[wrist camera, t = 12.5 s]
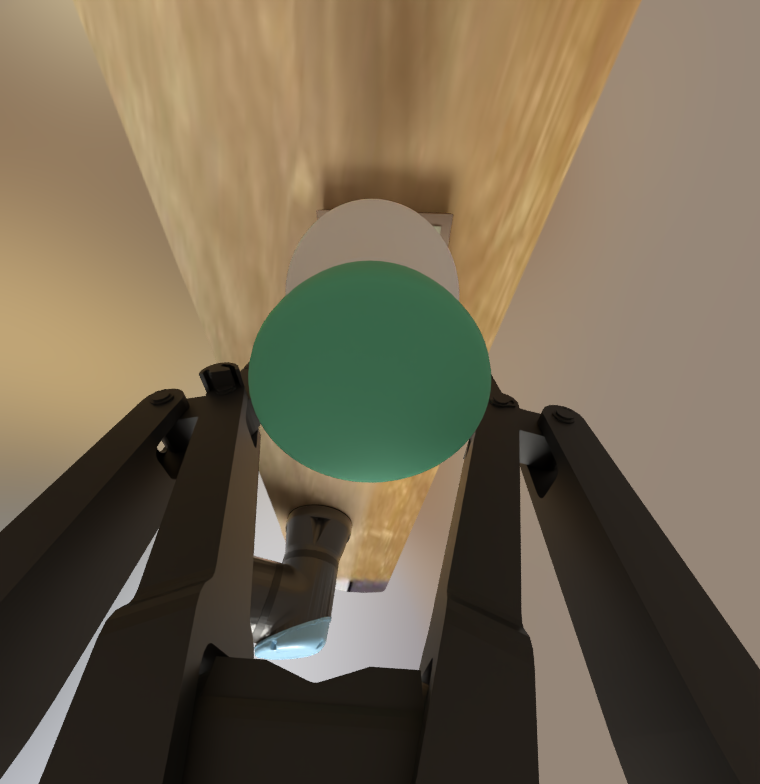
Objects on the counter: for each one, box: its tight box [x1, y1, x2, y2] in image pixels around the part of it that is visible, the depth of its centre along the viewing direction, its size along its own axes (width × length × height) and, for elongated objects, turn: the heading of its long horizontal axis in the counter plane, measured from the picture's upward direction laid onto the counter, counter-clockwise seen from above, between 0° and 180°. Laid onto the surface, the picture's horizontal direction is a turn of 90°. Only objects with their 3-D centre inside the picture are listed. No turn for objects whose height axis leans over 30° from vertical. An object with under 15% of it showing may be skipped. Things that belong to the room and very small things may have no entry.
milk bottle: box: [248, 199, 491, 482], centre depth 13 cm, size 8×8×20 cm
